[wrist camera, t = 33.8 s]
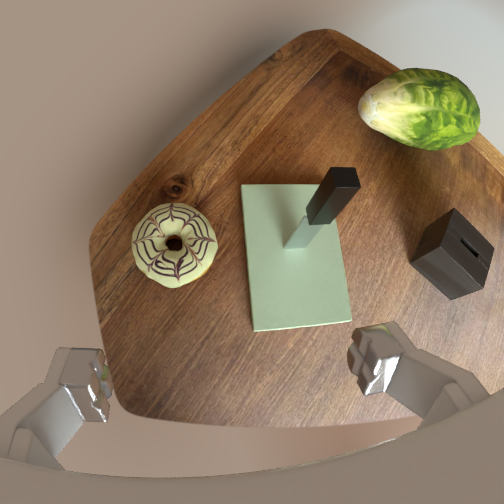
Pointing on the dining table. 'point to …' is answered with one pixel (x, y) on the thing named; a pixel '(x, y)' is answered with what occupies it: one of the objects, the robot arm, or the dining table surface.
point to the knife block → (453, 255)
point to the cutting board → (291, 261)
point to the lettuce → (422, 109)
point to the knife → (325, 204)
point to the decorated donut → (172, 262)
